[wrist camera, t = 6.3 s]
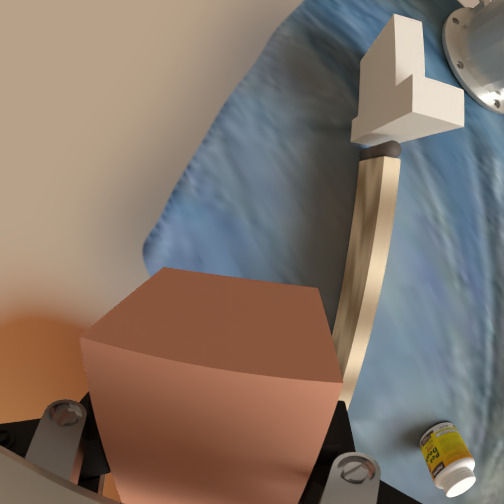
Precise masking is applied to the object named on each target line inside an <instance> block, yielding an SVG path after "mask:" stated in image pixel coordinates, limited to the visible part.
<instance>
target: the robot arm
mask: <svg viewBox="0 0 504 504" xmlns="http://www.w3.org/2000/svg"><path fill="white" fill-rule="evenodd" d="M442 43H443V48H444V52H445V56H446V58H447V61H448V63H449V66H450V68H451V69H452V71H453V73H454V75H455V77H456V78H457V80H458V81H459V83H460V84H461V86H462V87H463V88H464V89H465V90H466V92H467V93H468V94H469V95H470V96H471V97H472V98H473V99H474V100H475V101H476V102H477V103H479V104H480V105H481V106H483V107H484V108H486V109H487V110H490V111H492V112H494V113H497V114H501V115H504V0H492V2H490V1H489V0H480V3H479V4H478V5H477V6H476V7H474V8H460V9H458V10H455V11H454V12H453V13H452V14H450V15H449V17H448V18H447V19H446V20H445V23H444V25H443V30H442ZM110 472H111V470H110V467H109V464H108V461H107V458H106V455H105V451H104V448H103V445H102V441H101V438H100V434H99V430H98V427H97V423H96V419H95V415H94V411H93V407H92V402H91V398H90V393H89V392H88V393H87V394H86V395H85V396H84V397H83V399H82V400H81V401H80V402H77V401H73V400H68V399H63V400H57V401H55V402H53V403H51V404H50V405H48V406H47V408H46V409H45V411H44V413H43V416H42V418H40V419H33V420H27V421H21V422H12V423H4V424H0V504H124V503H121V502H118V501H115V500H113V499H110V498H107V497H104V496H102V495H103V487H104V481H105V474H107V473H110ZM380 475H381V472H380V467H379V465H378V463H377V462H376V461H375V460H374V459H373V458H372V457H370V456H368V455H366V454H363V453H359V452H356V451H355V446H354V441H353V436H352V432H351V427H350V422H349V417H348V413H347V408H346V404H345V402H344V401H341V400H338V402H337V405H336V408H335V411H334V414H333V417H332V420H331V422H330V425H329V428H328V431H327V434H326V436H325V439H324V442H323V444H322V447H321V449H320V452H319V455H318V457H317V460H316V462H315V465H314V467H313V470H312V472H311V474H310V477H309V479H308V481H307V484H306V486H305V488H304V491H303V493H302V495H301V497H300V500H299V502H298V504H422V503H420V502H418V501H416V500H414V499H413V498H411V497H409V496H407V495H405V494H404V493H402V492H400V491H398V490H397V489H395V488H393V487H391V486H390V485H388V484H386V483H385V482H383V481H381V480H380Z"/></svg>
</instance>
